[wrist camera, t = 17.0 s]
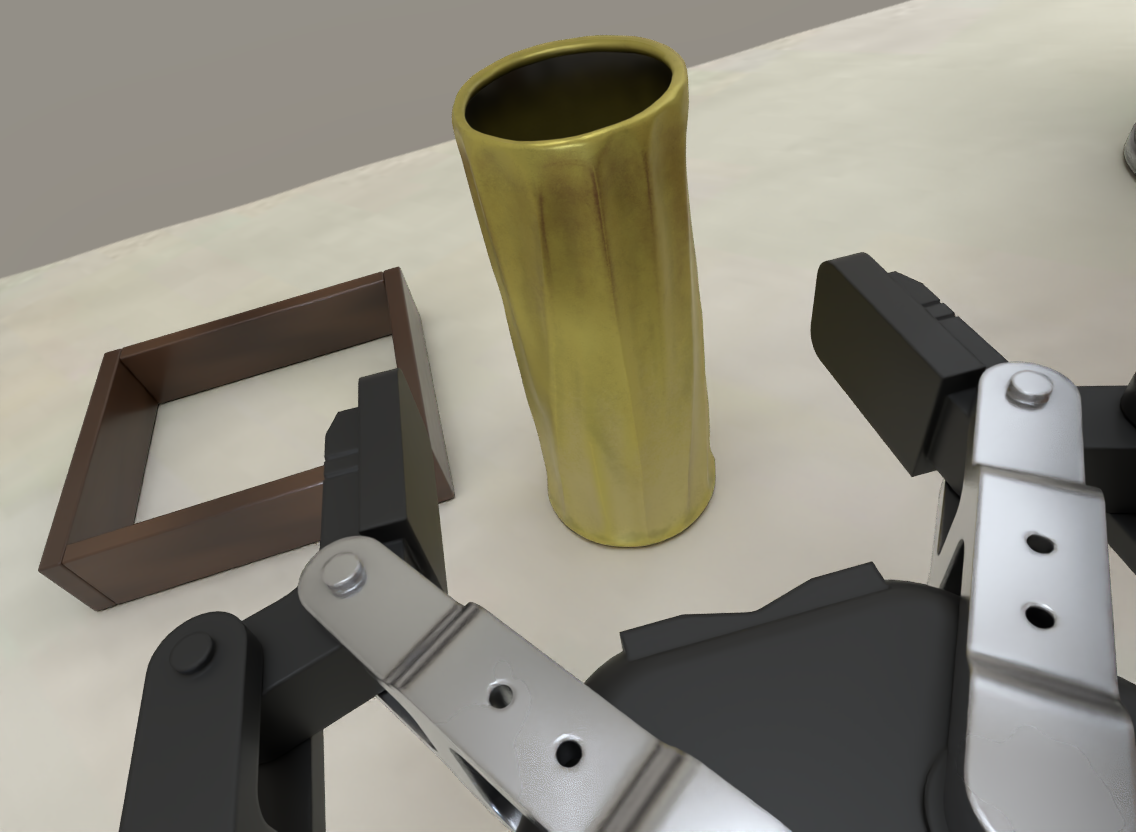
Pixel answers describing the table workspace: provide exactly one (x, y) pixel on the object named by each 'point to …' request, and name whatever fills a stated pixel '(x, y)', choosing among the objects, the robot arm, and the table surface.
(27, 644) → the table surface
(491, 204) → the vase
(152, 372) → the open brown wooden box
